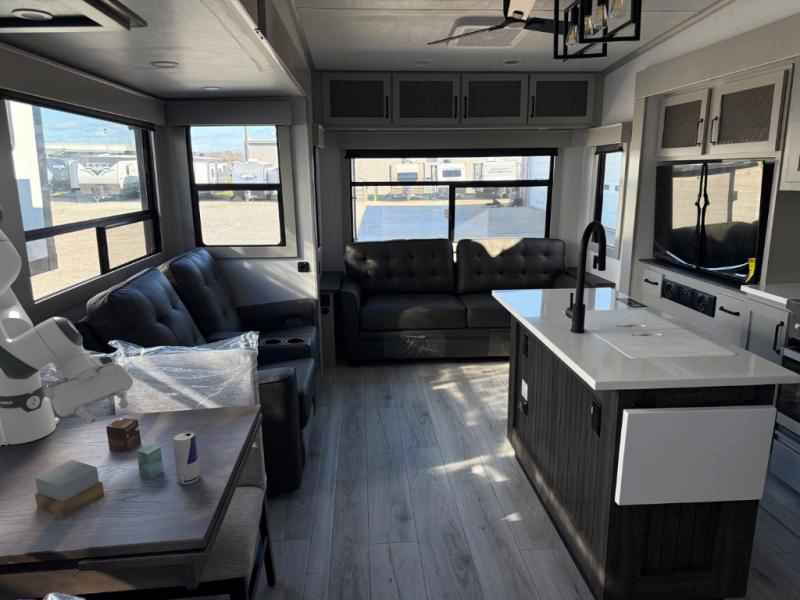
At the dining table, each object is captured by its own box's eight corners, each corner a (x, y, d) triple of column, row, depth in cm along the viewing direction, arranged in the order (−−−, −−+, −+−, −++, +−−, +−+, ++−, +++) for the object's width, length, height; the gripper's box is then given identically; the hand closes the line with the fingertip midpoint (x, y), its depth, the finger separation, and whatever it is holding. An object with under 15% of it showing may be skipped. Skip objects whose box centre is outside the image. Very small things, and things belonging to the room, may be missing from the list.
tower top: (37, 493, 131) (35, 477, 130) (74, 474, 139) (71, 459, 138) (63, 502, 127) (60, 486, 126) (99, 482, 135) (96, 467, 134)
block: (139, 475, 145) (136, 450, 143) (152, 468, 148) (149, 443, 147) (150, 478, 143) (147, 453, 141) (163, 471, 146) (160, 446, 145)
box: (127, 452, 157) (124, 428, 155) (108, 451, 158) (105, 426, 156) (141, 442, 162) (138, 418, 161) (123, 440, 164) (119, 417, 162)
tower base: (37, 509, 132) (34, 493, 131) (78, 487, 140) (75, 473, 140) (64, 520, 127) (61, 504, 126) (104, 497, 136) (102, 482, 135)
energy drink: (204, 477, 143) (199, 433, 141) (187, 487, 139) (182, 442, 136) (190, 471, 146) (185, 429, 143) (172, 481, 142) (167, 437, 139)
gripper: (44, 379, 139) (75, 423, 137) (118, 354, 156) (147, 393, 154) (36, 393, 142) (67, 436, 140) (110, 367, 159) (138, 405, 157)
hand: (109, 413), depth 147 cm, fingers open, 8 cm apart
